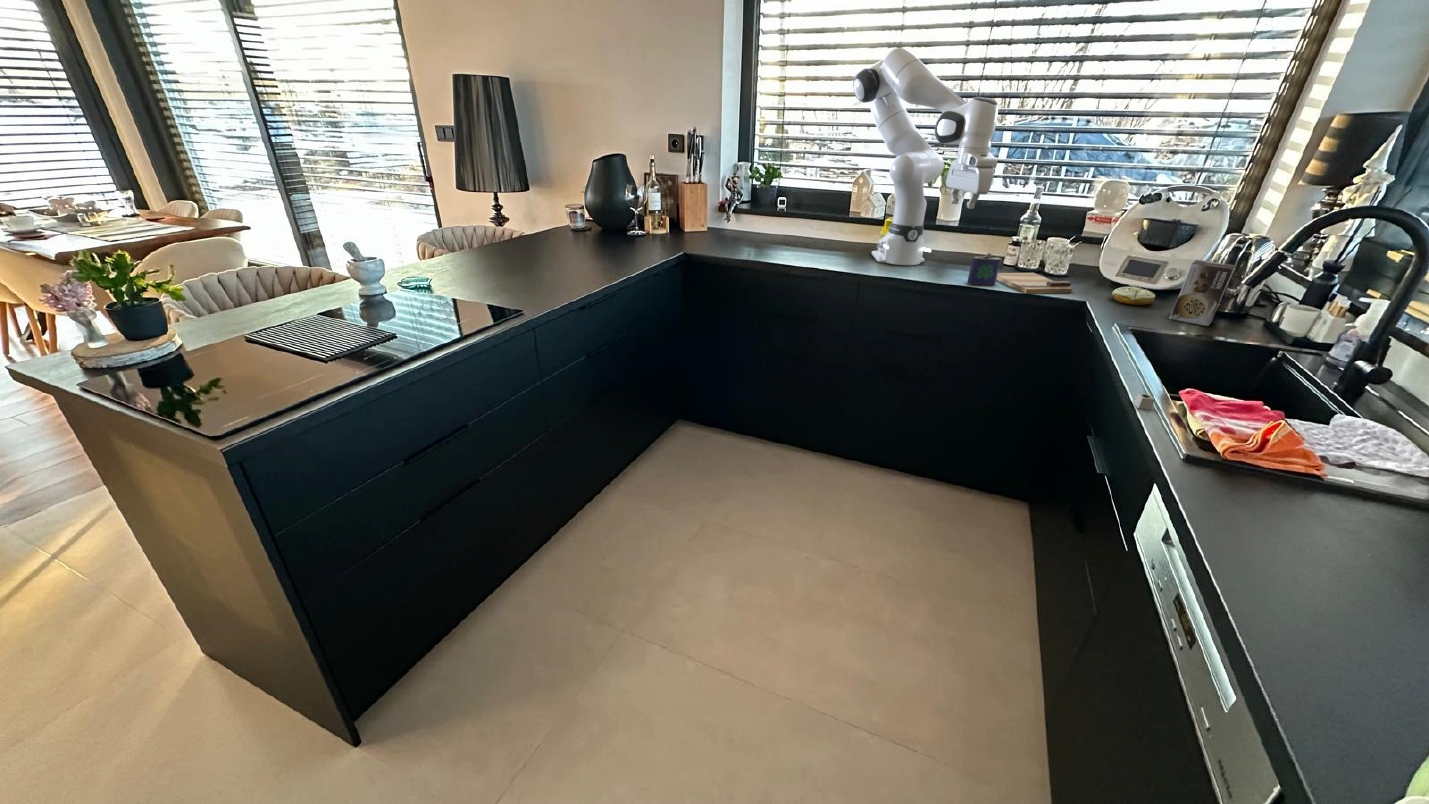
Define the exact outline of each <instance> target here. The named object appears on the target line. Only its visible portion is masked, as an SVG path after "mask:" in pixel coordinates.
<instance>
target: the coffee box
mask: <svg viewBox="0 0 1429 804" xmlns="http://www.w3.org/2000/svg"><path fill="white" fill-rule="evenodd" d="M1189 266H1190V267H1189V269H1188V271H1187V275H1186V277H1185V279H1184V281H1183V284H1182V286H1181V290H1180V292H1179V294H1178V296H1177V299H1176V301H1175V303H1174V306H1173V309H1172V310H1171V314H1170V316H1169V318H1168V319H1169V320H1174V321H1178V322H1185V323H1189V324H1195V325H1200V326H1204V327H1209V326H1210V325H1211V323H1212V321H1213V319H1214V317H1215V315H1216V312H1217V310H1218V308H1219V306H1220V302H1221V301H1222V299H1223V296H1224V294H1225V291H1226V289H1227V287H1228V285H1229V282H1230V280H1231V278H1232V276H1233V273H1234V271H1235V270H1236V267H1237V265H1236V264H1230V263H1229V264H1228V263H1223V262H1215V261H1208V260H1202V259H1201V260H1200V259H1195V260H1193V262H1192V263H1191V264H1190V265H1189Z"/></svg>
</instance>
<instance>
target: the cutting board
mask: <svg viewBox="0 0 1429 804" xmlns="http://www.w3.org/2000/svg"><path fill="white" fill-rule="evenodd" d="M996 281H998V282H1000V283H1002V284H1004V285H1006V286H1008V287H1011V288H1013V289H1015V290H1017V291H1019V292H1021V293H1023V294H1026V295H1027V294H1029V295H1030V294H1071V293H1072V291H1073V288H1072V287H1071V286H1056V287H1050V286H1045V287H1024V286H1022V284H1047V281H1054V280H1053V279H1050V278H1048V277H1046V276H1043V275H1040V274H1037V273H1036V272H998V274H997V278H996Z"/></svg>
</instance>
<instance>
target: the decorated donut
mask: <svg viewBox="0 0 1429 804" xmlns="http://www.w3.org/2000/svg"><path fill="white" fill-rule="evenodd" d="M1111 296H1112V297H1113V299H1114V300H1115V301H1116V302H1119V303H1121V304H1126V305H1131V306H1132V305H1134V306H1145V305H1150V304H1152V303H1153V302H1154V301H1155V298H1156V294H1155V293H1154V292H1152V291H1151V290H1148V289H1146V288H1145V289H1144V288H1141V287H1136V286H1121V287H1118V288H1116V289H1114V290H1113V291H1112V292H1111Z"/></svg>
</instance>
